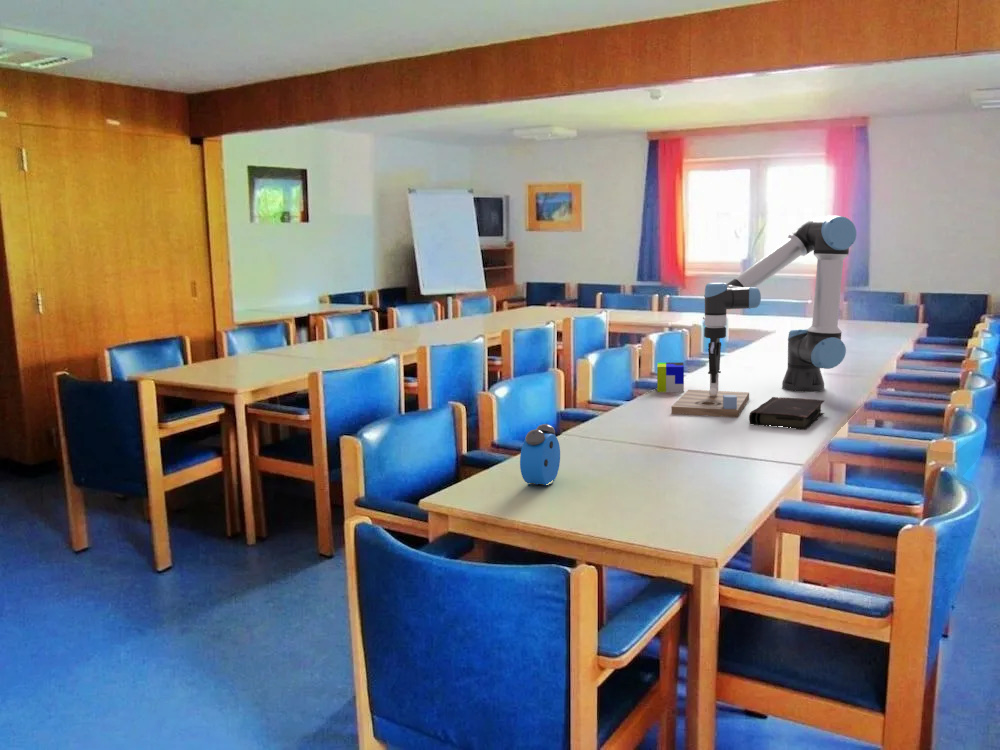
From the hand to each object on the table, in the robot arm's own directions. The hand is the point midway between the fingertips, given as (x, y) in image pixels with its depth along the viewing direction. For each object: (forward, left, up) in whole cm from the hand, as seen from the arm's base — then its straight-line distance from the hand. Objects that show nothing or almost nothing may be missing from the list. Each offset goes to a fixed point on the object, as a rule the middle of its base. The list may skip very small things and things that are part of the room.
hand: (714, 391), depth 296 cm
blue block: (-8, +19, -1) cm, 21 cm away
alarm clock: (+26, +108, -4) cm, 111 cm away
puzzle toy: (+20, -19, -4) cm, 28 cm away
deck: (0, +6, -4) cm, 7 cm away
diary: (-27, +20, -5) cm, 34 cm away
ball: (0, +3, 0) cm, 3 cm away
